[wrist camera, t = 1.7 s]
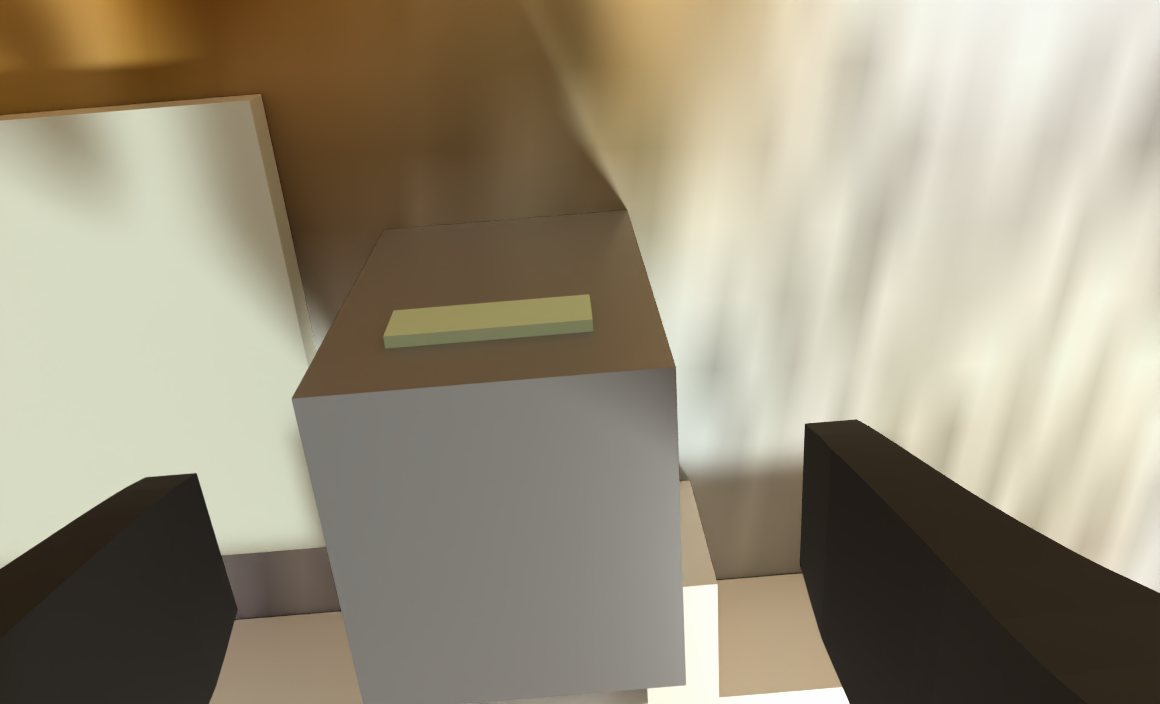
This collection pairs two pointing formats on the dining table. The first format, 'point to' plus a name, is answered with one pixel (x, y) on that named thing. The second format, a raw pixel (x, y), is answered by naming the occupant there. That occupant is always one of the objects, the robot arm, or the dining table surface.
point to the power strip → (708, 700)
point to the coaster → (150, 320)
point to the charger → (500, 464)
